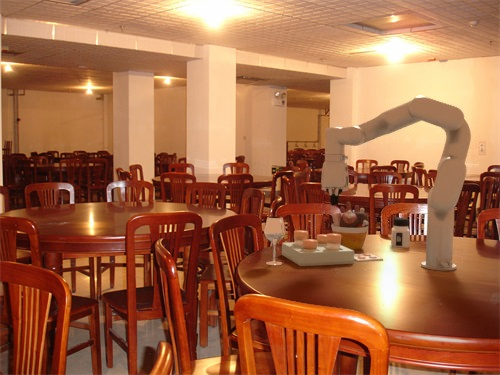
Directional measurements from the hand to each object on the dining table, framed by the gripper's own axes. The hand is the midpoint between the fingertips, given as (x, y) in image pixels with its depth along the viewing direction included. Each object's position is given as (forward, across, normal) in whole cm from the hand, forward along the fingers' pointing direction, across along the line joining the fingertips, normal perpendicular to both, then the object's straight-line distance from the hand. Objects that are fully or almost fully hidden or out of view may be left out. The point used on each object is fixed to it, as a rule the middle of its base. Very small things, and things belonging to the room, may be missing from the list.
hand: (334, 205), depth 217 cm
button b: (+20, +7, -6) cm, 22 cm away
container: (+23, -15, -47) cm, 54 cm away
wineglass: (+22, +18, +18) cm, 33 cm away
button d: (+18, +14, +1) cm, 23 cm away
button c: (+20, +7, +8) cm, 23 cm away
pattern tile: (+22, -9, -11) cm, 26 cm away
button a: (+18, 0, +1) cm, 19 cm away
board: (+22, +7, +1) cm, 23 cm away
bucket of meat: (+22, +4, -29) cm, 37 cm away
